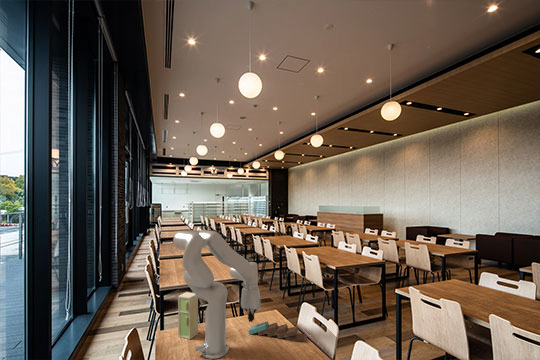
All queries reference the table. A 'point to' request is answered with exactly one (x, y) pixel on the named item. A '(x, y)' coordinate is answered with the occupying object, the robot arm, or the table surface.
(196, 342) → the table surface
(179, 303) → the toy refrigerator
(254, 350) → the table surface
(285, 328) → the domino
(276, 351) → the table surface
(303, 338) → the domino
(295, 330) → the domino
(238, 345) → the table surface
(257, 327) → the domino
